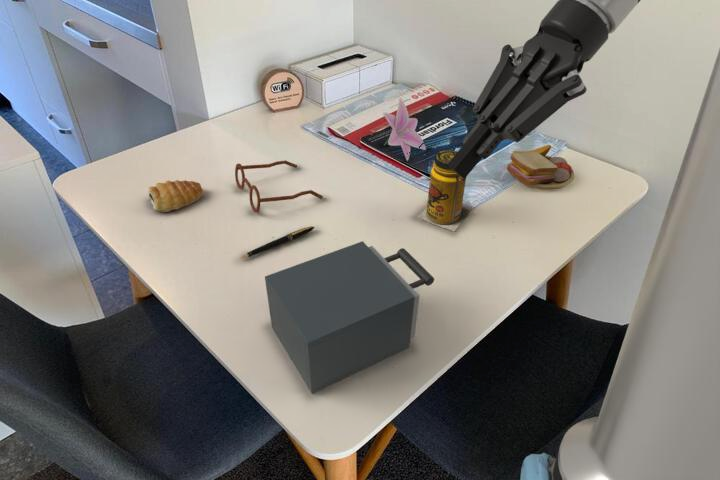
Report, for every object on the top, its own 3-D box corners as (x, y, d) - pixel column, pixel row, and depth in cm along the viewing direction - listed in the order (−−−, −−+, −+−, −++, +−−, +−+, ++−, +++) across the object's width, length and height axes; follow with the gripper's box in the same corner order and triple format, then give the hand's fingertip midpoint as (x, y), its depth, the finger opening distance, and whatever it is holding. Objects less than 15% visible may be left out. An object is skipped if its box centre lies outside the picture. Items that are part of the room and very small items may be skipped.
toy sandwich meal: (585, 188, 101) (592, 166, 98) (522, 196, 99) (527, 175, 96) (552, 156, 111) (558, 136, 108) (493, 163, 108) (497, 143, 105)
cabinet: (361, 290, 78) (362, 240, 72) (409, 347, 70) (414, 296, 64) (271, 327, 73) (264, 276, 67) (311, 394, 64) (307, 343, 58)
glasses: (234, 183, 101) (231, 160, 98) (297, 167, 106) (295, 145, 103) (257, 218, 92) (254, 195, 89) (324, 199, 97) (323, 176, 94)
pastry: (196, 184, 101) (193, 167, 98) (209, 202, 96) (205, 184, 94) (147, 199, 97) (142, 181, 94) (157, 218, 92) (152, 200, 90)
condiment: (416, 218, 93) (422, 159, 85) (439, 196, 98) (446, 139, 91) (453, 232, 90) (462, 172, 82) (474, 209, 95) (485, 151, 88)
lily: (377, 170, 107) (402, 138, 101) (355, 128, 112) (377, 95, 106) (420, 171, 115) (445, 141, 108) (397, 131, 119) (420, 100, 113)
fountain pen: (240, 263, 83) (239, 256, 82) (237, 259, 84) (236, 252, 83) (316, 231, 90) (316, 224, 89) (313, 228, 90) (312, 221, 89)
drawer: (393, 276, 80) (396, 236, 75) (439, 325, 72) (445, 284, 67) (288, 319, 73) (283, 278, 68) (325, 378, 65) (323, 336, 60)
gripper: (638, 52, 61) (502, 209, 65) (555, 22, 69) (440, 161, 74) (622, 10, 55) (474, 184, 59) (534, -17, 64) (411, 136, 68)
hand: (455, 171), depth 66 cm, fingers closed
